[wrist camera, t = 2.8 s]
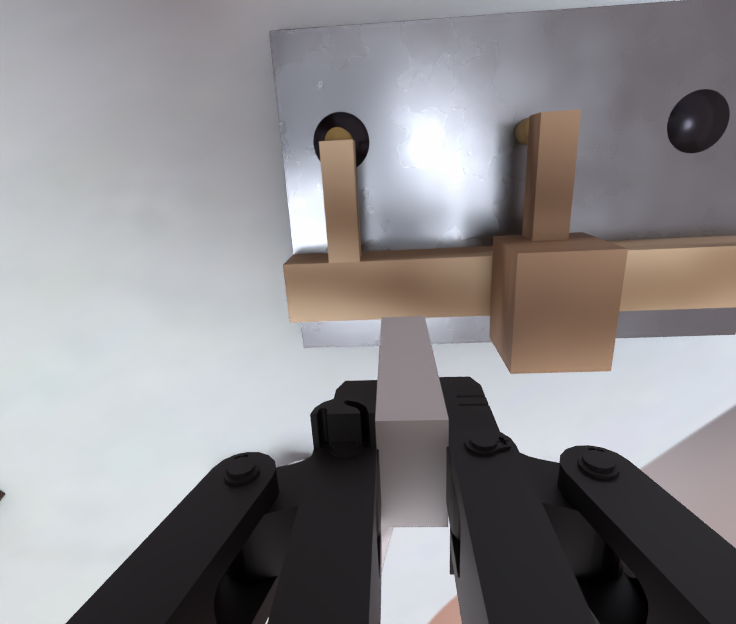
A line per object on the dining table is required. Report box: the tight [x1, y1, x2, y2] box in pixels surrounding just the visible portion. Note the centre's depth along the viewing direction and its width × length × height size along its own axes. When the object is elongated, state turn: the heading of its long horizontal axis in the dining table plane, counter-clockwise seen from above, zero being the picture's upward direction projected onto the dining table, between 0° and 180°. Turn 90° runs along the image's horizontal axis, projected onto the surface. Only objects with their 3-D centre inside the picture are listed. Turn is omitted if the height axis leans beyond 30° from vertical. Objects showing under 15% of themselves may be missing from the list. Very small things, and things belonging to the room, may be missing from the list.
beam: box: [283, 127, 736, 323], centre depth 21 cm, size 9×24×2 cm, turn 93°
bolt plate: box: [269, 0, 736, 348], centre depth 23 cm, size 16×24×1 cm, turn 93°
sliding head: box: [489, 110, 628, 374], centre depth 19 cm, size 10×4×6 cm, turn 3°
